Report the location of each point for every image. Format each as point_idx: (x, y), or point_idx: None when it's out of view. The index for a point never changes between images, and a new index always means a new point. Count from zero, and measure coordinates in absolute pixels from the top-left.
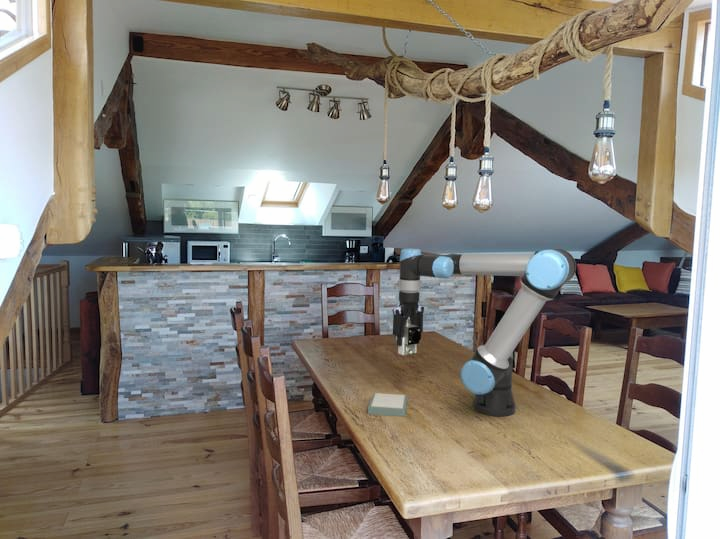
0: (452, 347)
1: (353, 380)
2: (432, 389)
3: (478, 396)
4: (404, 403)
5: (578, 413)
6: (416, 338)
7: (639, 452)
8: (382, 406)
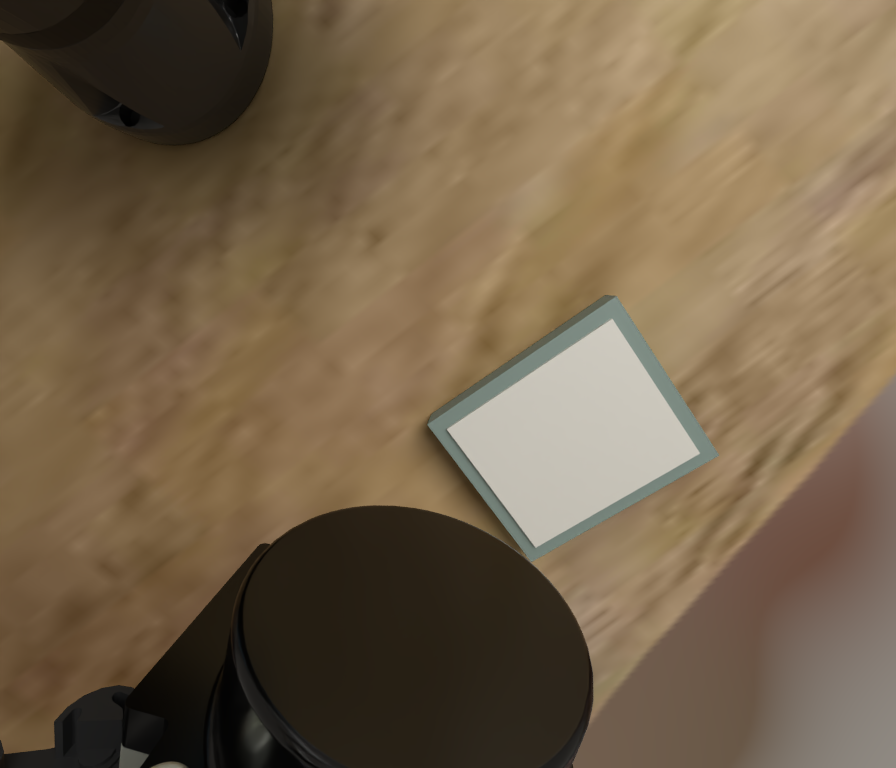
0: None
1: None
2: (205, 428)
3: (202, 20)
4: (541, 358)
5: None
6: (429, 567)
7: None
8: (669, 406)
